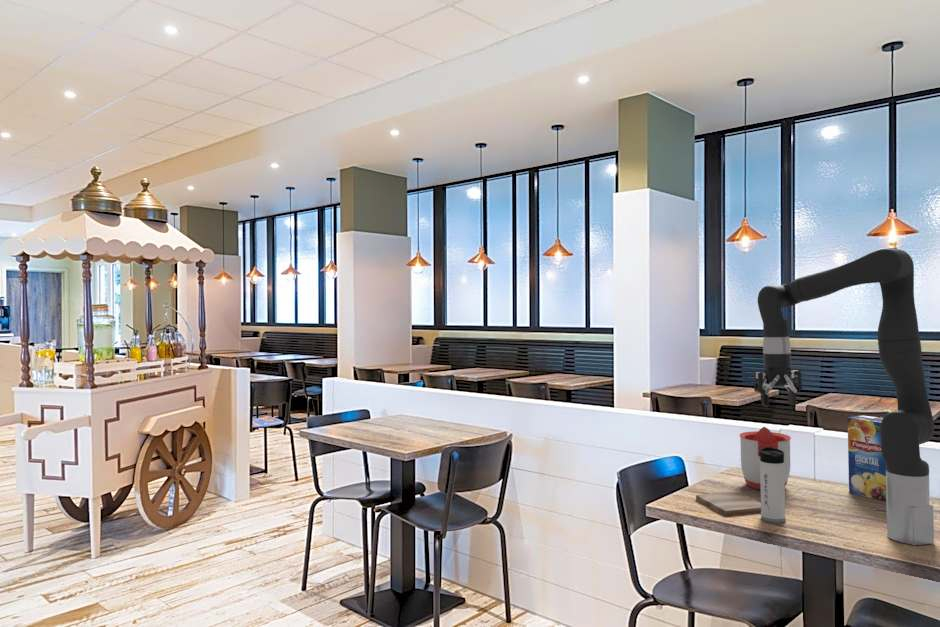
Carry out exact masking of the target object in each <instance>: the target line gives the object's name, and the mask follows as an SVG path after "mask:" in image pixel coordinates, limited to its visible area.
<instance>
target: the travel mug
mask: <svg viewBox="0 0 940 627" xmlns="http://www.w3.org/2000/svg"><path fill="white" fill-rule="evenodd" d="M760 457H761V458H760V482H761V489H760V503H761V513H760V517H761V519H762V520H763V521H765V522H768V523H774V524H782V523H785V521H787V520H786V486H785V469H784V452H783V451H781V450H779V449H775V448H772V447H765V448H763V449H761V450H760Z"/></svg>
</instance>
